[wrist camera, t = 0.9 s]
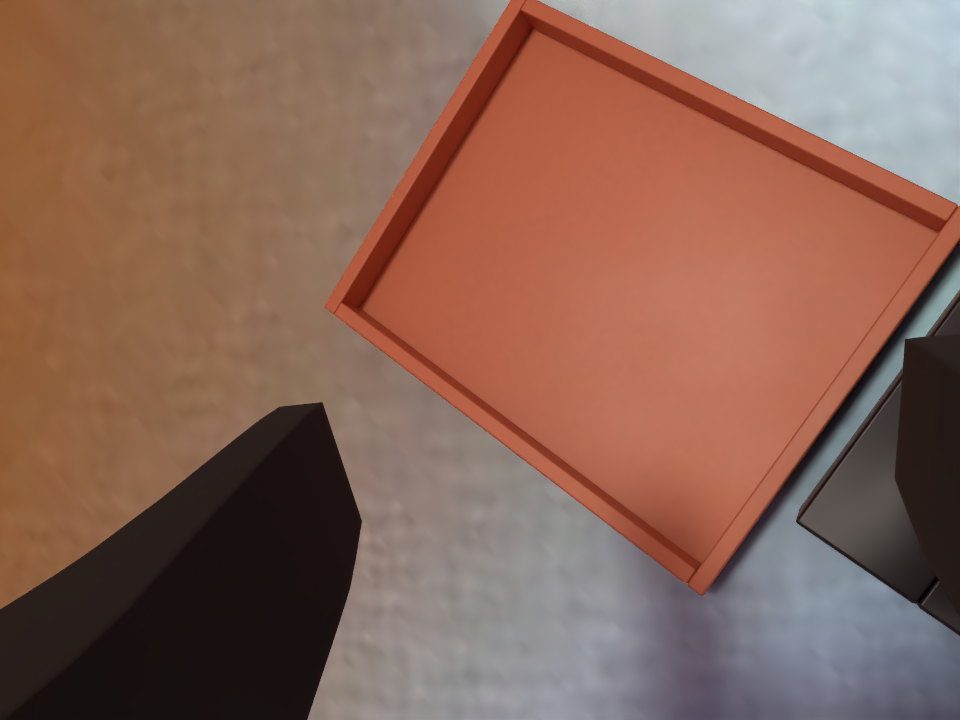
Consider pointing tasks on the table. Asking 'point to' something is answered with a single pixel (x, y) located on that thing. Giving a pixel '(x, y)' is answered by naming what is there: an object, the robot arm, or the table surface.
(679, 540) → the red tray
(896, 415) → the toaster
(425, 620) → the table surface
